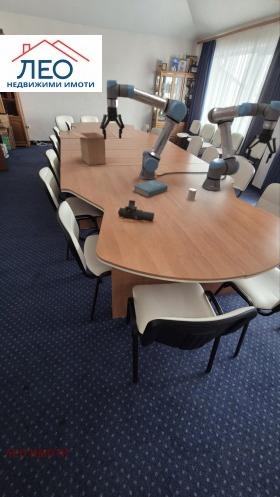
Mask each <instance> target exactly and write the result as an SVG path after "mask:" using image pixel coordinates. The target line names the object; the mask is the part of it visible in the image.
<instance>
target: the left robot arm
mask: <svg viewBox="0 0 280 497" xmlns="http://www.w3.org/2000/svg"><path fill="white" fill-rule="evenodd" d="M118 98H124V99H129V100H133V101H136V102H138V103H140V104H144V105H147V106H150V107H152V108H156V109H158V110H161V111H162V113H164V114H166V115H165V122H164V124H163V126H162V127H161V129H160V132H159V134H158V135H157V138H156V140H155V142H154V144H153V146H152V148H151V150H143V151H142V159H141V160H142V161H141V169H140V172H139V178H140V179H142V180H146V181H150V180H156V178H157V177H162V176H164V175H169V174H170V175H171V174H207V173H208V171H172V172H165V173H162V174H156V171H157V170H158V168H159V164H160V161H161V160H162V156H161V155H162V153H163V152H164V150H165V148H166V146H167V144H168V142H169V140H170V138H171V136H172V134H173V133H174V130H175V128H176V127H177V126H179V124H180V123H181V121H182V120H183V119H184V118H185V117H186V115H187V111H188V109H187V106H186V104H185V102H183V101H182V100H180V99H179V100H178V99H172V98H168V97H166V98H164V97H161V96H160V95H159V96H158V95H156V94H153V93H150V92H148V91H145V90H143V89H140V88H138V87H135V85H134V84H128V83H127V84H123V83H119V82H118V80H116V79H107V81H106V106H107V107H106V109H107V110H106V113H105V114H104V113H103V116H102V119H101V123H100V126H99V129H101V130H102V131H101V132H103V135H104V139H105V141H106V140H107V137H106V133H107V130H106V129H107V127H108V125H109V124H110V123H111V122H115V123H116V125H117V126H118V139H122V134H123V129H125V124H124V121H123V118H122V114H120V113H118Z"/></svg>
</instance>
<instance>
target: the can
mask: <svg viewBox="0 0 280 497" xmlns="http://www.w3.org/2000/svg"><path fill="white" fill-rule="evenodd" d="M196 194H197V189H196V188H195V187H190V188H188V193H187V198H186V200H187V201H189V202H195V200H196Z"/></svg>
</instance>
